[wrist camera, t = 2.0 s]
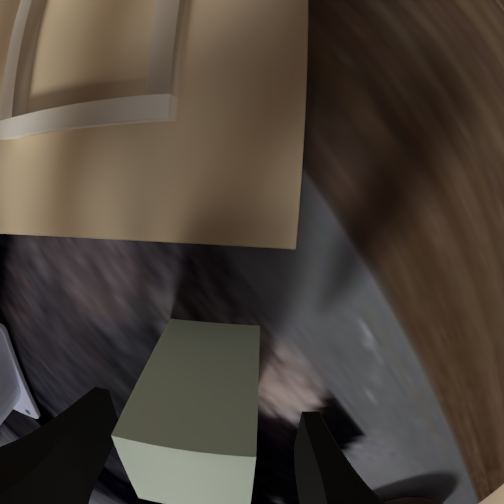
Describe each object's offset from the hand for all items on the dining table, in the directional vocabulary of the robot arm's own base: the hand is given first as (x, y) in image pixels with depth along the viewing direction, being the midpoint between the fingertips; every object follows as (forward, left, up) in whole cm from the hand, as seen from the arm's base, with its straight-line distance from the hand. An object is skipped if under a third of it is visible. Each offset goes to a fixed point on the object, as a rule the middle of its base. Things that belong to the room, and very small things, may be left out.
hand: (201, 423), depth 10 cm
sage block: (0, 0, -4) cm, 4 cm away
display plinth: (-5, +14, -4) cm, 15 cm away
